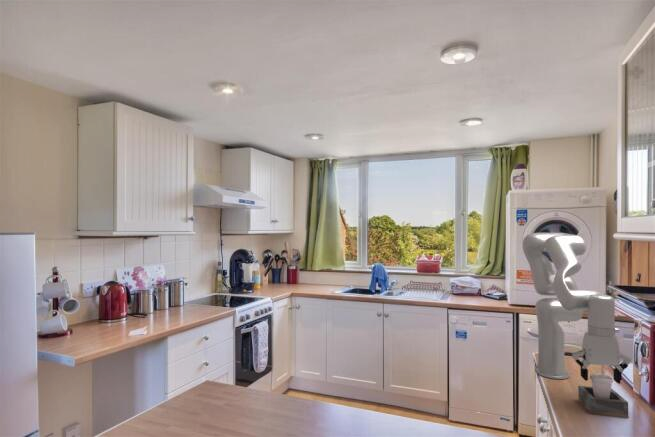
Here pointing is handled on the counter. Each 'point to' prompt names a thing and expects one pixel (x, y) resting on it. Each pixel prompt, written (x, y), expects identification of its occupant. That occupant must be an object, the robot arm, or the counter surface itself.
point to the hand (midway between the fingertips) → (600, 380)
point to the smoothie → (601, 385)
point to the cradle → (603, 403)
